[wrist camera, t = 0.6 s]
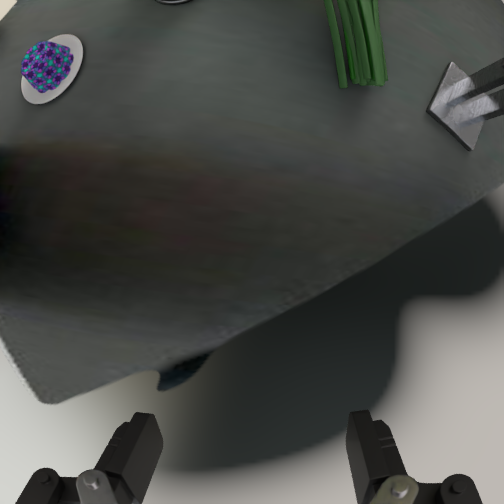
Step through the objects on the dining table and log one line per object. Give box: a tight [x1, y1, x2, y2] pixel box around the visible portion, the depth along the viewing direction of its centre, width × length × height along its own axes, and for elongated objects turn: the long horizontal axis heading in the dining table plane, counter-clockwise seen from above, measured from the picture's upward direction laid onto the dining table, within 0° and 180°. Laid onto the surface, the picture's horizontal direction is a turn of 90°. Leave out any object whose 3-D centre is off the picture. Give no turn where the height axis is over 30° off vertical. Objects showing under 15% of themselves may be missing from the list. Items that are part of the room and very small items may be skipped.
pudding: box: [21, 34, 83, 104], centre depth 32 cm, size 12×12×5 cm
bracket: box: [426, 58, 504, 151], centre depth 28 cm, size 11×9×16 cm
